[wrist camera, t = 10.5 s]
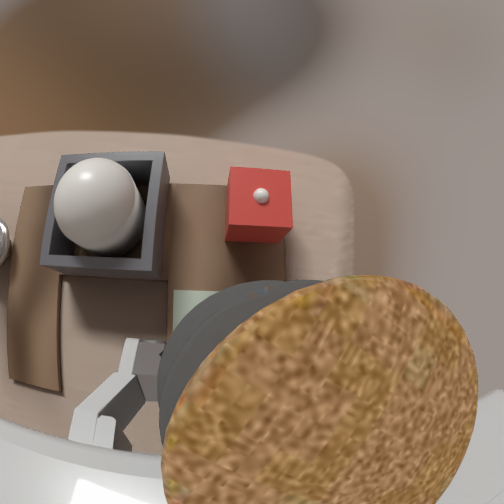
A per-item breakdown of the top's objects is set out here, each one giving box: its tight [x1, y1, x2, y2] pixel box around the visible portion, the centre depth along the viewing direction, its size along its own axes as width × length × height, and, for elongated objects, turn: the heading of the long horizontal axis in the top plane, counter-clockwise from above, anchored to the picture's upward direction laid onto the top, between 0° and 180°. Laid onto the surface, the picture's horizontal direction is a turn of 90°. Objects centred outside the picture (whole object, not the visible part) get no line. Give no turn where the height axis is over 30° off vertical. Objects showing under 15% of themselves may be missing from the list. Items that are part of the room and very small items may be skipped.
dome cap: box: [54, 158, 146, 258], centre depth 17 cm, size 6×6×6 cm
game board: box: [7, 184, 285, 391], centre depth 20 cm, size 23×17×1 cm
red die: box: [225, 167, 293, 243], centre depth 20 cm, size 4×4×4 cm
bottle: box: [157, 275, 478, 504], centre depth 10 cm, size 6×6×15 cm
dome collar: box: [39, 151, 170, 280], centre depth 19 cm, size 8×8×4 cm
